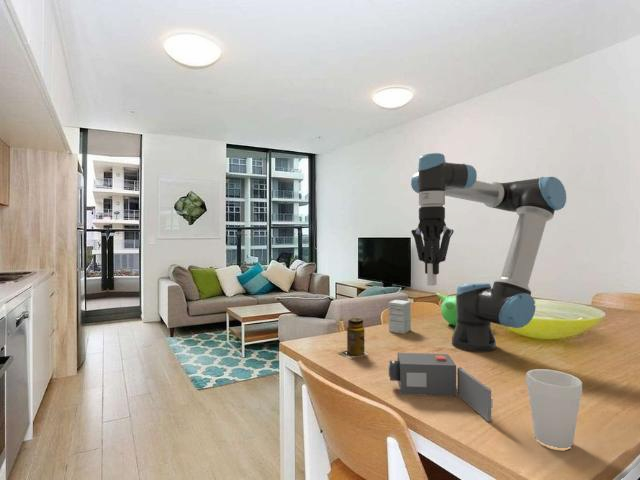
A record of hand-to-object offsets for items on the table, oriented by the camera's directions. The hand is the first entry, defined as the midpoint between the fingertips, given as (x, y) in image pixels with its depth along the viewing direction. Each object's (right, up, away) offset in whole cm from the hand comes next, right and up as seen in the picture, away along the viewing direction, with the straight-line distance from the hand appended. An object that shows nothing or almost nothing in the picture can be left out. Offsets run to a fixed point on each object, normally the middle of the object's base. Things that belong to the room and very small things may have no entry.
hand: (431, 284), depth 112 cm
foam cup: (+13, -27, -37) cm, 48 cm away
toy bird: (+29, -25, +56) cm, 68 cm away
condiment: (-22, -27, +18) cm, 39 cm away
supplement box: (+1, -26, +48) cm, 54 cm away
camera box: (-6, -27, -11) cm, 30 cm away
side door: (+3, -27, -22) cm, 35 cm away
